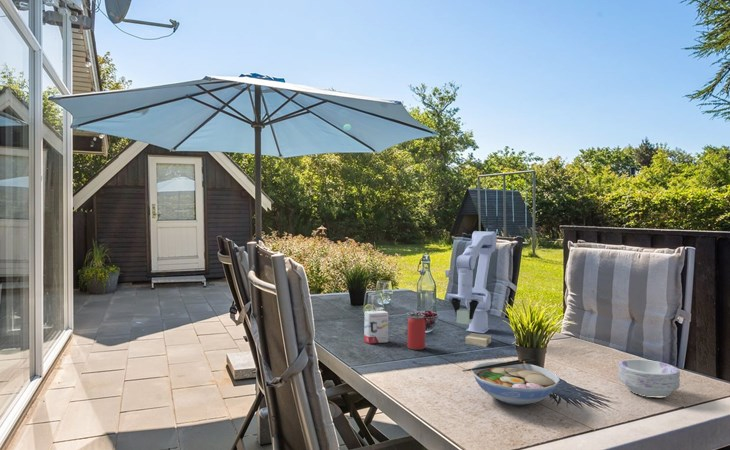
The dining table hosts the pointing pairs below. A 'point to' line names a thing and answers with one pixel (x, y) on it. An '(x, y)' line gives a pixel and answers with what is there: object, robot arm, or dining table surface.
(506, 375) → the ramen bowl
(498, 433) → the dining table surface
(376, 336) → the ink box
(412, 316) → the beer can
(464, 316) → the cube
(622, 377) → the paper bowls
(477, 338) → the pedestal
